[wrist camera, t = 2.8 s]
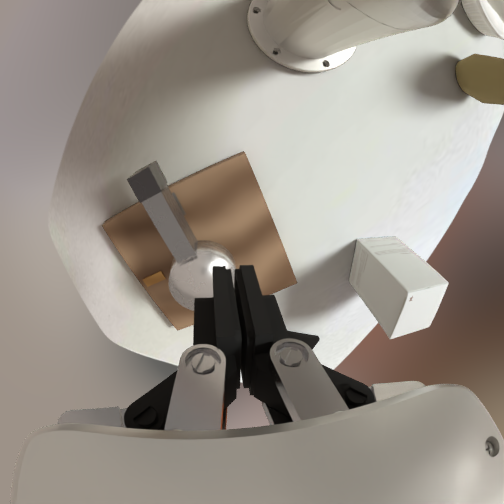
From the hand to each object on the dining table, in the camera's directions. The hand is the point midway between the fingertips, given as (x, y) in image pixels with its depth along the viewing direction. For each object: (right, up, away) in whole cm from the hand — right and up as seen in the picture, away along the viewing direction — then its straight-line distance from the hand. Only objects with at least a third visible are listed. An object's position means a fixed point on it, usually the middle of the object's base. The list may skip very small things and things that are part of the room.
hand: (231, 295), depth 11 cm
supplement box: (+19, +1, +26) cm, 32 cm away
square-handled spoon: (-6, +4, +16) cm, 17 cm away
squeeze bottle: (+34, +29, +13) cm, 47 cm away
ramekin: (+40, +44, +6) cm, 60 cm away
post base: (-5, +2, +22) cm, 22 cm away
